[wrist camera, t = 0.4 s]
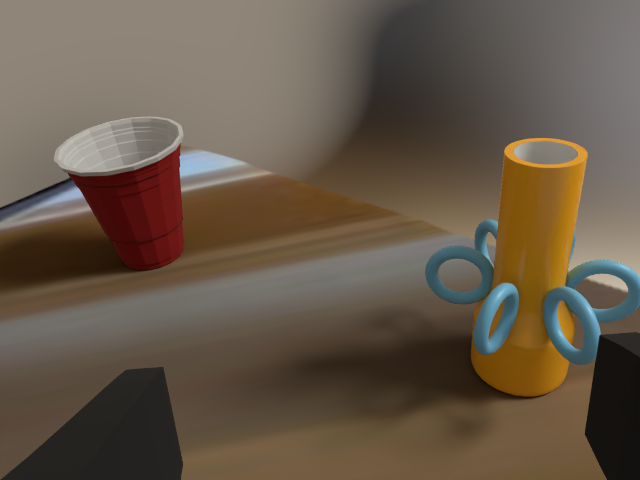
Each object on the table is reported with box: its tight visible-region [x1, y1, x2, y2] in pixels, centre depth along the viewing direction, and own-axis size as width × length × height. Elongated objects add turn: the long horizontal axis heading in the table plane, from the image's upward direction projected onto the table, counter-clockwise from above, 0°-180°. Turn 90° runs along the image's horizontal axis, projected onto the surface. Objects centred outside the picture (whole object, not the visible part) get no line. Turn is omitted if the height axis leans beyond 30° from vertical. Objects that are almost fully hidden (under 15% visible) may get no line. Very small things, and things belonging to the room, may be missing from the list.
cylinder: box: [425, 138, 640, 397], centre depth 32 cm, size 12×10×15 cm
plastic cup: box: [54, 117, 184, 270], centre depth 49 cm, size 11×11×12 cm
